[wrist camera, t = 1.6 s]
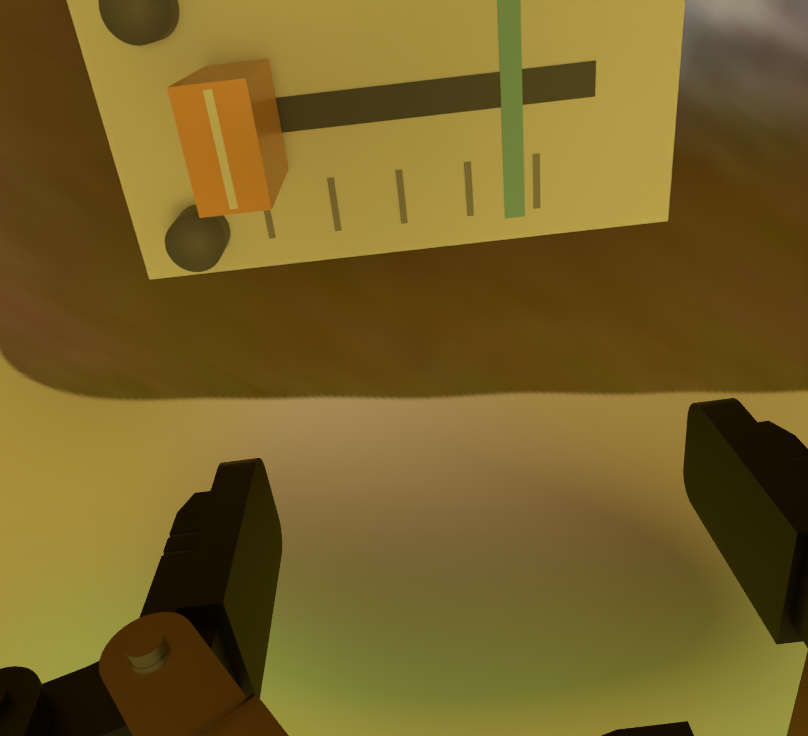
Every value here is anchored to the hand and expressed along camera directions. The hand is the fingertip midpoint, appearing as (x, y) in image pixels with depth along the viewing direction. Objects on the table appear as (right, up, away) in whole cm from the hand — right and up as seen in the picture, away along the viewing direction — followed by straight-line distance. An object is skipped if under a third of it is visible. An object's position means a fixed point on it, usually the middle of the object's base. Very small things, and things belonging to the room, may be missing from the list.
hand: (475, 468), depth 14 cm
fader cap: (-8, +12, +16) cm, 22 cm away
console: (-2, +14, +18) cm, 23 cm away
